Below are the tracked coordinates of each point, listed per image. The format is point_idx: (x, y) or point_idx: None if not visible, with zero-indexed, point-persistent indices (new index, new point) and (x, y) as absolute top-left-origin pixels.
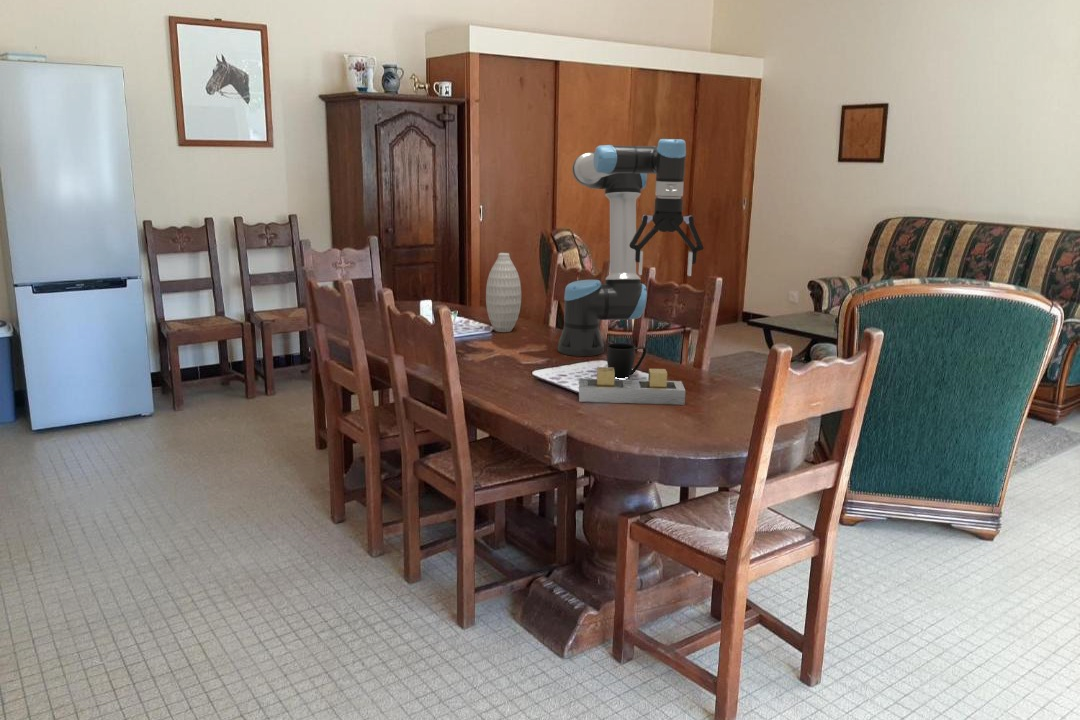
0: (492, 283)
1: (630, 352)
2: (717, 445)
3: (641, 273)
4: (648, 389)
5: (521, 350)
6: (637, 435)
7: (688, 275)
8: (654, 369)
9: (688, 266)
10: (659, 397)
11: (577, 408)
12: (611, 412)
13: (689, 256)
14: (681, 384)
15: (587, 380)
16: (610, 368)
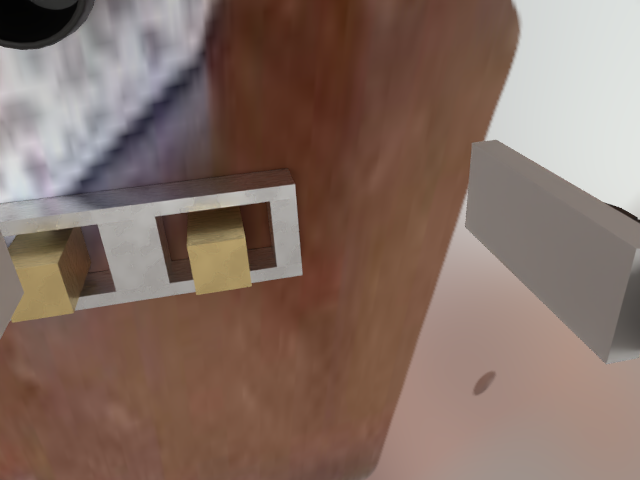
0: None
1: (75, 28)
2: (341, 461)
3: (14, 302)
4: (194, 291)
5: None
6: (191, 462)
7: (467, 228)
8: (207, 252)
9: (511, 229)
10: None
11: (6, 351)
12: (107, 356)
13: (575, 316)
14: (293, 220)
15: None
16: (47, 279)
